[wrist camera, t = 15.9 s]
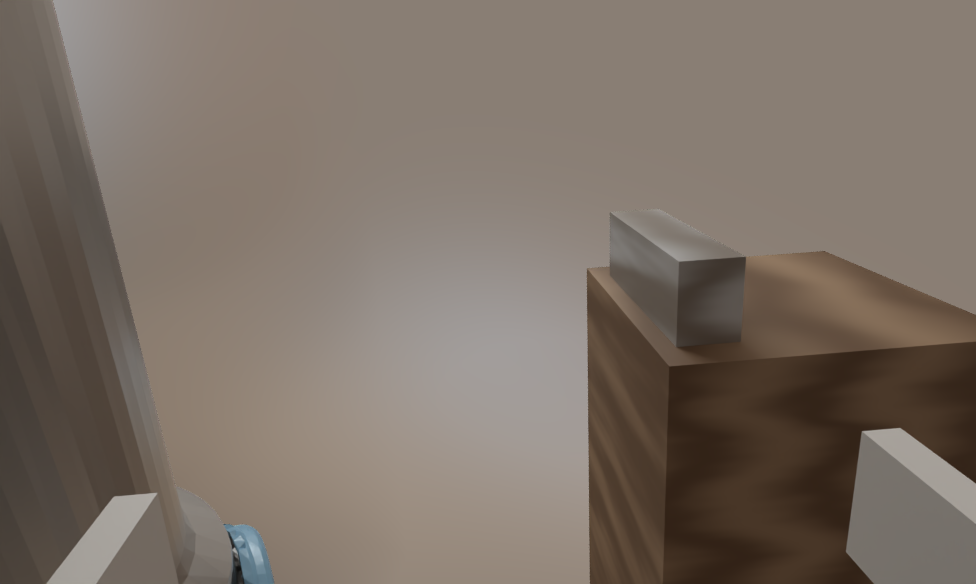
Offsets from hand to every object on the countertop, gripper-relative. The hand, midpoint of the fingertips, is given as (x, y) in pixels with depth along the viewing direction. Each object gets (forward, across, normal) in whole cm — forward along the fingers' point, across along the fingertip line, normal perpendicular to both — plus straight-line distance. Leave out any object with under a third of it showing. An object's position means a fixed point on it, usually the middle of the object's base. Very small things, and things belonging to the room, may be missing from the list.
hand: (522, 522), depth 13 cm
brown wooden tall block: (+23, +16, -34) cm, 44 cm away
